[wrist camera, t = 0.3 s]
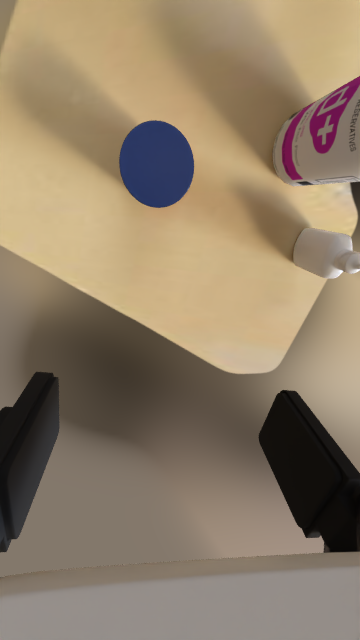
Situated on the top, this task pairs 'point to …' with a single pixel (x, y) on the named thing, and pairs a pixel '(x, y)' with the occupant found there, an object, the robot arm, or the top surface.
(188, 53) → the top surface
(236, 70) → the top surface
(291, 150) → the supplement can
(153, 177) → the lid
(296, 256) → the eye dropper bottle
